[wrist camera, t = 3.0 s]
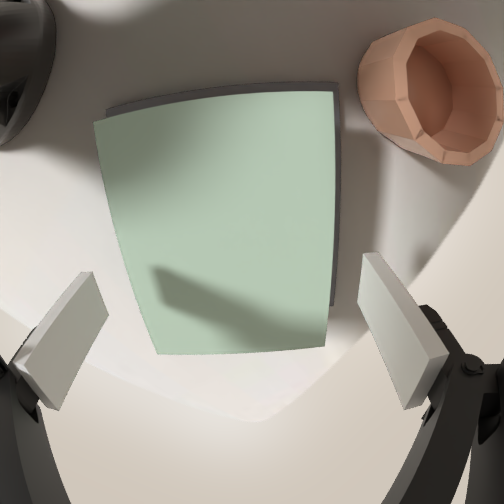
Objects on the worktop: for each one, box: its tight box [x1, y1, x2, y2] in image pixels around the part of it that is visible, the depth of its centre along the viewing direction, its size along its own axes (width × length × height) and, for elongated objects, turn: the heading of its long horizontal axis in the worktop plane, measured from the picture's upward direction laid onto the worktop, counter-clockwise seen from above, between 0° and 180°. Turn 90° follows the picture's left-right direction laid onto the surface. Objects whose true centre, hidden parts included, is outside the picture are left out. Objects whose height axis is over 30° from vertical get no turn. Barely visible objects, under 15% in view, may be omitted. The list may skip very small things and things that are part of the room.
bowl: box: [357, 18, 504, 166], centre depth 14 cm, size 9×9×6 cm
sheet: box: [93, 91, 335, 355], centre depth 16 cm, size 12×16×1 cm
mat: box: [106, 82, 341, 306], centre depth 19 cm, size 16×18×5 cm
